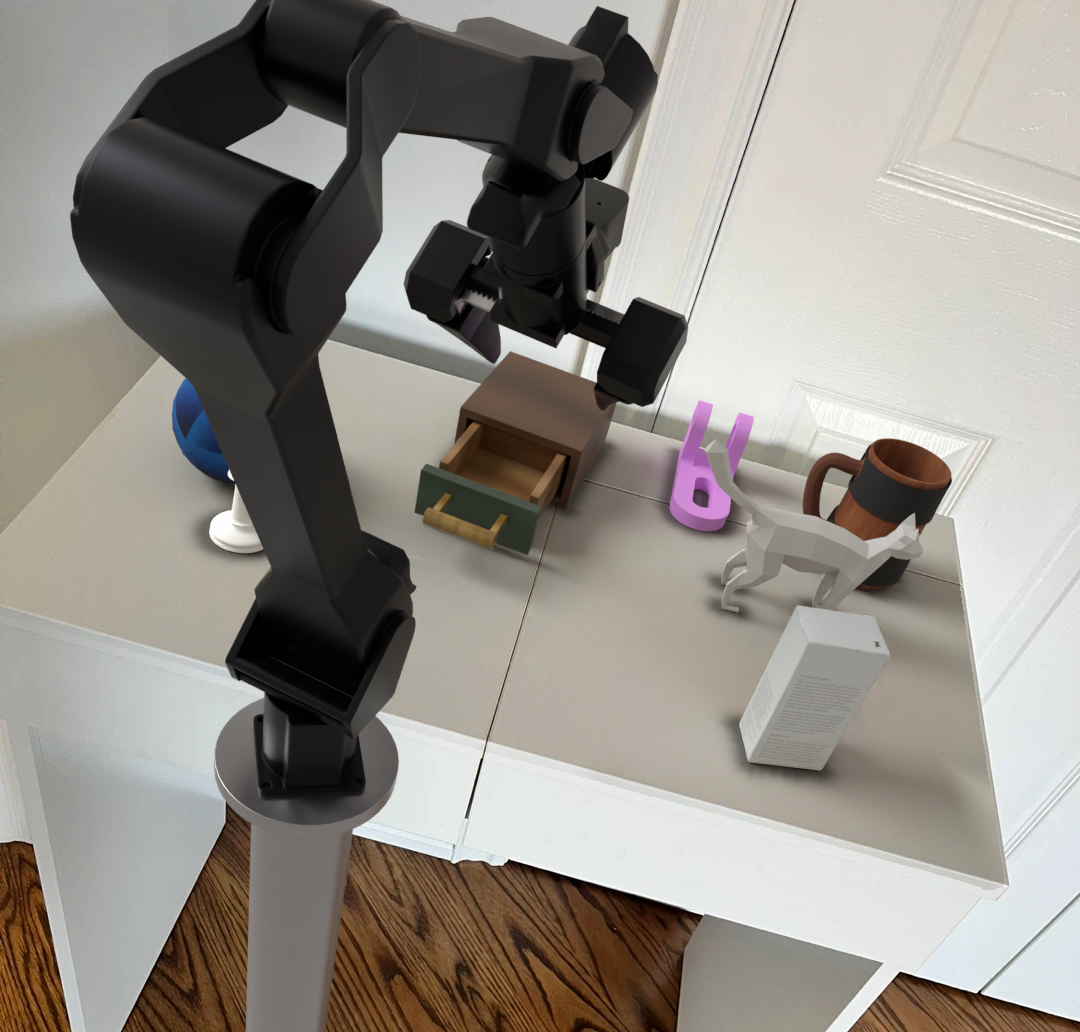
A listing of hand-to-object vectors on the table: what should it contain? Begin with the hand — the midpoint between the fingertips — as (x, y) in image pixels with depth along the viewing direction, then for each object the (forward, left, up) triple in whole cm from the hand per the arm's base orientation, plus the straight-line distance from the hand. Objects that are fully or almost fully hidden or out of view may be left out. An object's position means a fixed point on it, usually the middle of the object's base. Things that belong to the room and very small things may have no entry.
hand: (549, 381), depth 76 cm
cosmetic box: (-23, -16, -16) cm, 33 cm away
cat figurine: (-7, -22, -16) cm, 28 cm away
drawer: (+5, +1, -15) cm, 16 cm away
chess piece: (+1, +22, -16) cm, 27 cm away
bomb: (+10, +22, -16) cm, 29 cm away
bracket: (+10, -22, -16) cm, 29 cm away
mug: (0, -33, -16) cm, 37 cm away
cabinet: (+16, -6, -16) cm, 23 cm away
